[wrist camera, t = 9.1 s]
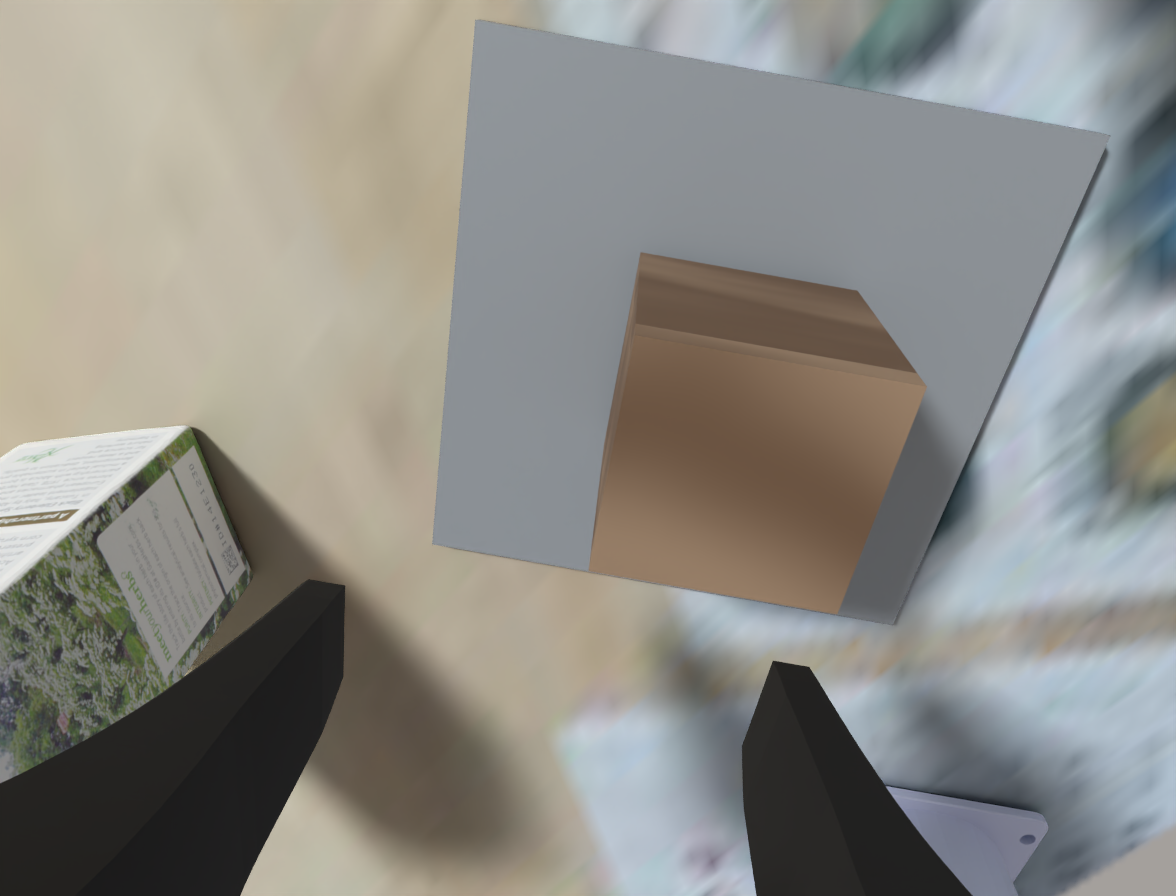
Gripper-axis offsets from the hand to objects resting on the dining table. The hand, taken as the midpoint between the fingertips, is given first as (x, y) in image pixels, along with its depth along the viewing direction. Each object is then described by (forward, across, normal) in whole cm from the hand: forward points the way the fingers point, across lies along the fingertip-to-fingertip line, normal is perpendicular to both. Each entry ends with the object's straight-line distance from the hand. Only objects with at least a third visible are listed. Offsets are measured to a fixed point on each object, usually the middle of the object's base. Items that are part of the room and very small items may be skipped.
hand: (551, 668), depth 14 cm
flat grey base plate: (+10, -3, -2) cm, 11 cm away
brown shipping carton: (+9, -3, -2) cm, 10 cm away
